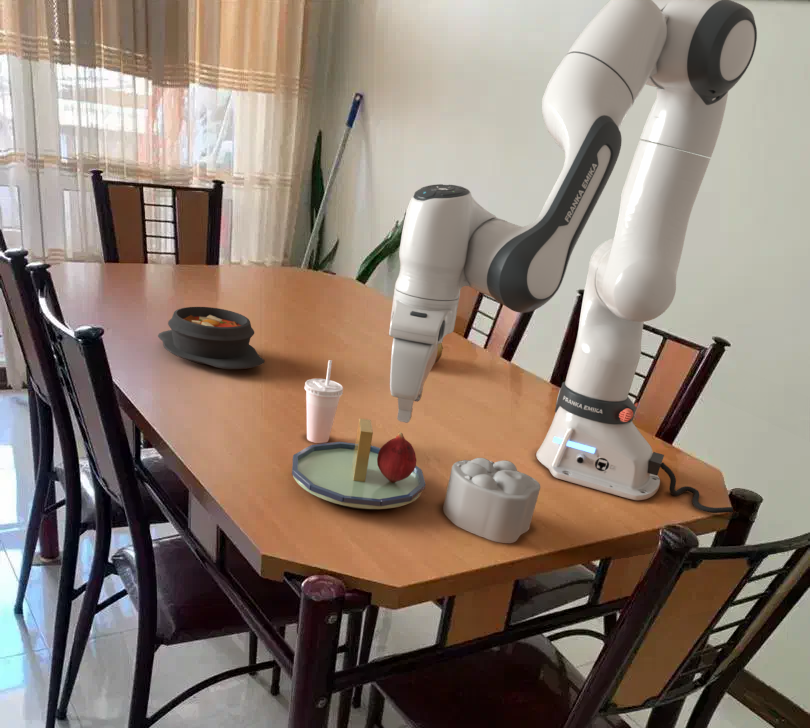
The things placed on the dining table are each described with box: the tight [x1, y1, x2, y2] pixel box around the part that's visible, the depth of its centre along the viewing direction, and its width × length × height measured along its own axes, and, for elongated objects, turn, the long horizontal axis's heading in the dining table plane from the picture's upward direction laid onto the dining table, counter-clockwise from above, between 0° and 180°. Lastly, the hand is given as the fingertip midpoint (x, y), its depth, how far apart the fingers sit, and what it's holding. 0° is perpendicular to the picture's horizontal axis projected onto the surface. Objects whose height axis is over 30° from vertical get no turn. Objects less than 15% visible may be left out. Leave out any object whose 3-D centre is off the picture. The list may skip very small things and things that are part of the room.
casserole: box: [157, 306, 265, 370], centre depth 163 cm, size 25×19×8 cm
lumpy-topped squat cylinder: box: [442, 457, 541, 544], centre depth 119 cm, size 10×13×9 cm
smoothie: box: [303, 359, 344, 444], centre depth 134 cm, size 6×6×14 cm
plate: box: [291, 418, 427, 510], centre depth 120 cm, size 20×20×9 cm
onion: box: [377, 431, 417, 483], centre depth 119 cm, size 6×6×8 cm
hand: (409, 409), depth 116 cm, fingers open, 8 cm apart
